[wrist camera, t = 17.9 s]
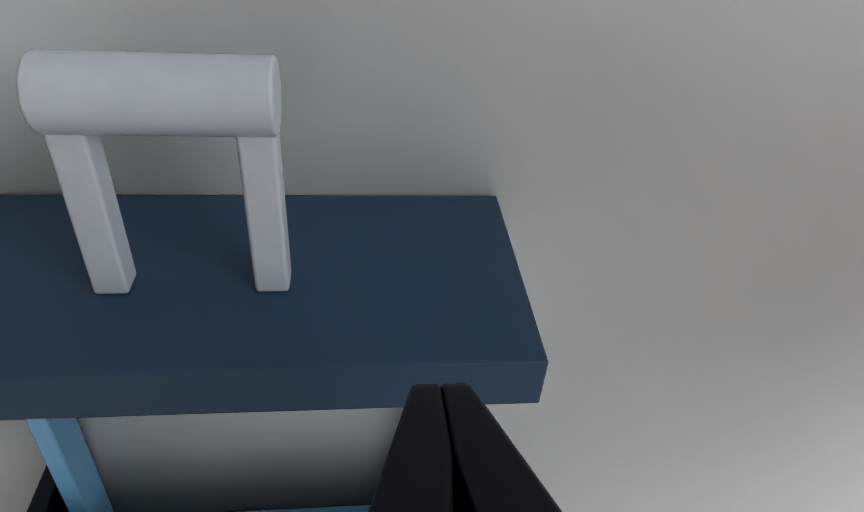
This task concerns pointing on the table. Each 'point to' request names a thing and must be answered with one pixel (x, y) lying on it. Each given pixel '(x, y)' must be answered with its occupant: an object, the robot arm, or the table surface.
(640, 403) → the table surface
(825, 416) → the table surface
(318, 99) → the table surface
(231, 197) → the pull-out drawer
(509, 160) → the table surface
